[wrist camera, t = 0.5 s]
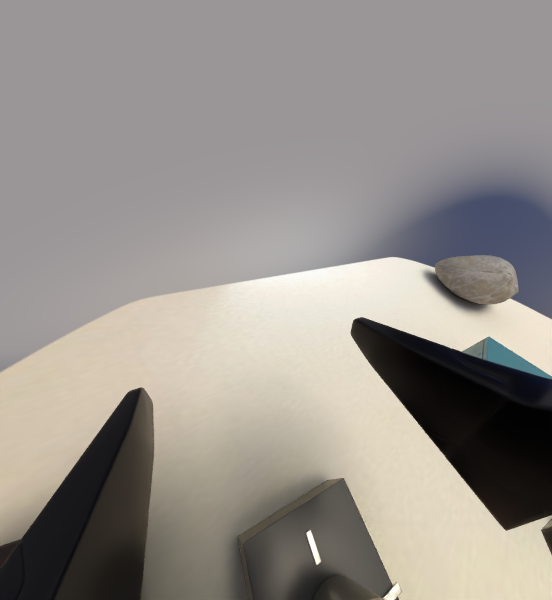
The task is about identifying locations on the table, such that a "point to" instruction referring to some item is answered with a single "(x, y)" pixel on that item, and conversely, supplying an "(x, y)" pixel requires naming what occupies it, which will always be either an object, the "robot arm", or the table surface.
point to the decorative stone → (478, 278)
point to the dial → (343, 590)
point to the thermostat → (312, 548)
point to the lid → (509, 358)
